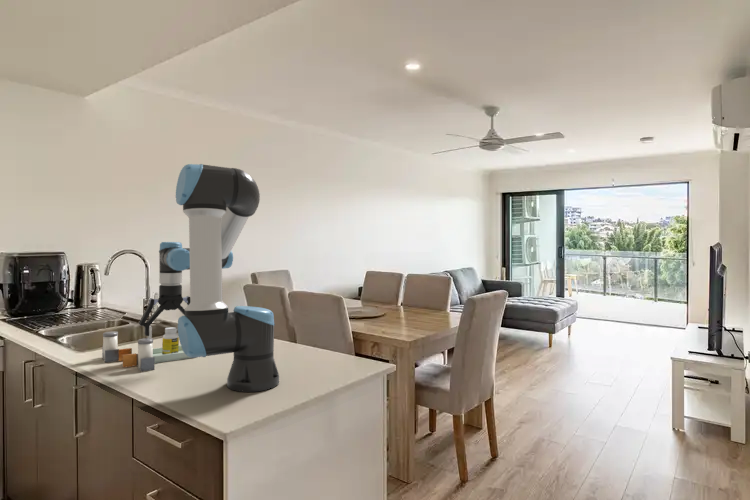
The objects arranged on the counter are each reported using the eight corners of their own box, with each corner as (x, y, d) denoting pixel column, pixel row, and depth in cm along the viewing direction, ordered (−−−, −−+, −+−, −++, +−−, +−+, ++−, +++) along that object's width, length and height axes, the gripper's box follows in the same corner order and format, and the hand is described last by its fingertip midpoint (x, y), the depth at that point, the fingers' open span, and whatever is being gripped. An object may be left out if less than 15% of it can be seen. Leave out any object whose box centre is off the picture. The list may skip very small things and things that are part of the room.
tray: (197, 357, 166) (197, 350, 166) (149, 363, 156) (149, 356, 156) (188, 350, 175) (188, 344, 175) (142, 356, 166) (142, 349, 166)
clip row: (154, 369, 150) (154, 357, 150) (112, 375, 142) (112, 362, 142) (139, 352, 170) (139, 342, 170) (102, 357, 163) (102, 346, 163)
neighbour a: (154, 368, 151) (154, 340, 151) (139, 370, 148) (139, 341, 148) (151, 365, 155) (151, 337, 155) (136, 367, 152) (136, 339, 152)
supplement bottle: (172, 357, 162) (172, 330, 162) (158, 356, 163) (159, 329, 163) (181, 353, 168) (181, 327, 167) (168, 352, 169) (168, 326, 169)
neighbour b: (118, 359, 161) (118, 333, 160) (103, 361, 158) (103, 334, 158) (116, 356, 164) (116, 330, 164) (102, 358, 162) (102, 332, 161)
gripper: (202, 281, 175) (202, 336, 176) (130, 284, 160) (130, 344, 161) (208, 283, 169) (208, 340, 170) (134, 287, 154) (133, 349, 155)
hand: (170, 342), depth 165 cm, fingers open, 13 cm apart
